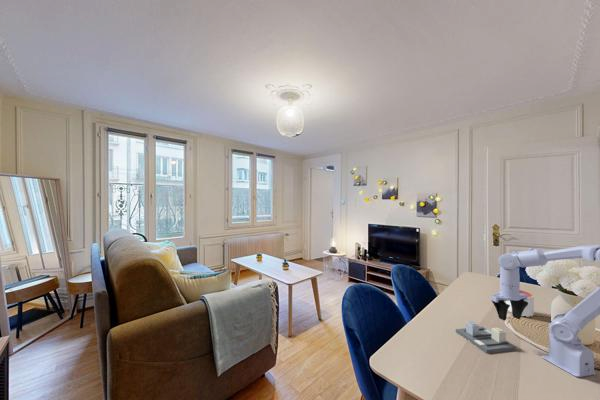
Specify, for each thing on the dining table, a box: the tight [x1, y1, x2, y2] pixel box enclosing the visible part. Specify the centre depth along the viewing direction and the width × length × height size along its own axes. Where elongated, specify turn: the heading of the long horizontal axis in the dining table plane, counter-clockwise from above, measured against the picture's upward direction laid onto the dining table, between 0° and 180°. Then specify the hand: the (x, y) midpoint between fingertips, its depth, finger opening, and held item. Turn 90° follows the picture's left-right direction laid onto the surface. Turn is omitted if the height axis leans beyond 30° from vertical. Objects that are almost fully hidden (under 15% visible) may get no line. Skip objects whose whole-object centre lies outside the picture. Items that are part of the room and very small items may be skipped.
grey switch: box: [465, 321, 480, 336], centre depth 94 cm, size 3×3×4 cm
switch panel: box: [455, 326, 517, 354], centre depth 91 cm, size 14×13×2 cm
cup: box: [505, 290, 535, 318], centre depth 113 cm, size 10×10×10 cm
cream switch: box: [490, 326, 507, 343], centre depth 89 cm, size 3×3×4 cm
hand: (509, 318), depth 90 cm, fingers open, 6 cm apart
